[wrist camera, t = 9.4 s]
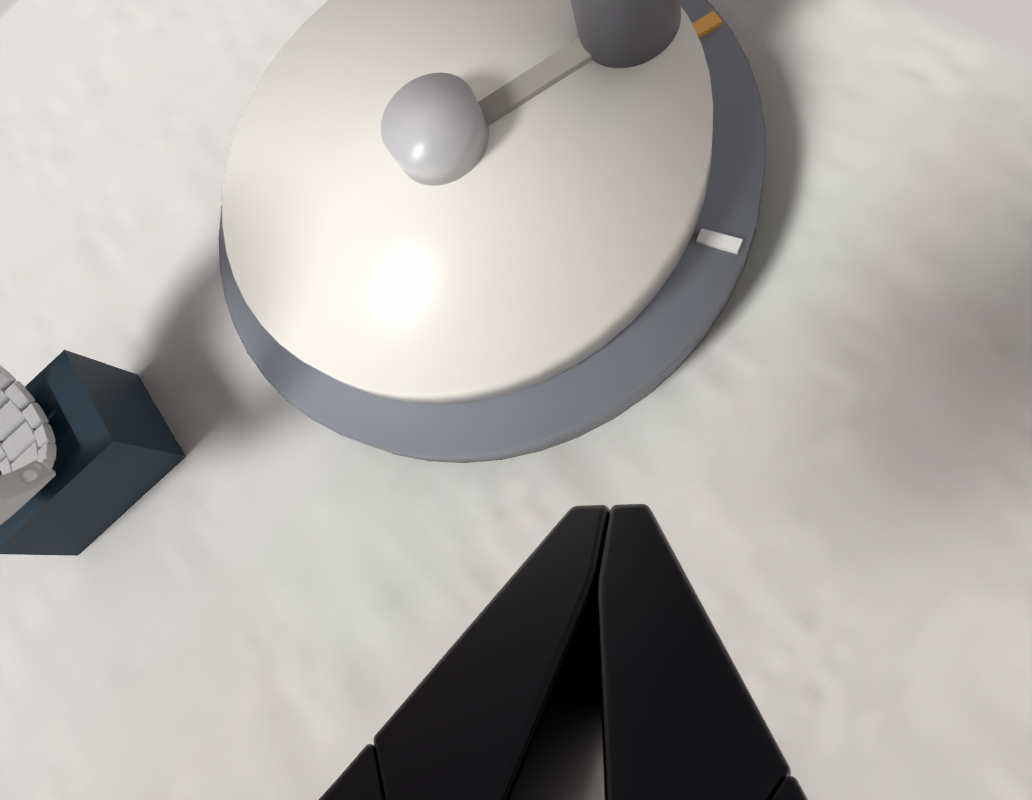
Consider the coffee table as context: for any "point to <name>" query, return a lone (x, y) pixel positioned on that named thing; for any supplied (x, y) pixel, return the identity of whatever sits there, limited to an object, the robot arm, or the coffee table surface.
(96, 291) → the coffee table surface
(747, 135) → the dial base
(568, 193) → the dial
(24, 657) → the coffee table surface
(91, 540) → the watch
